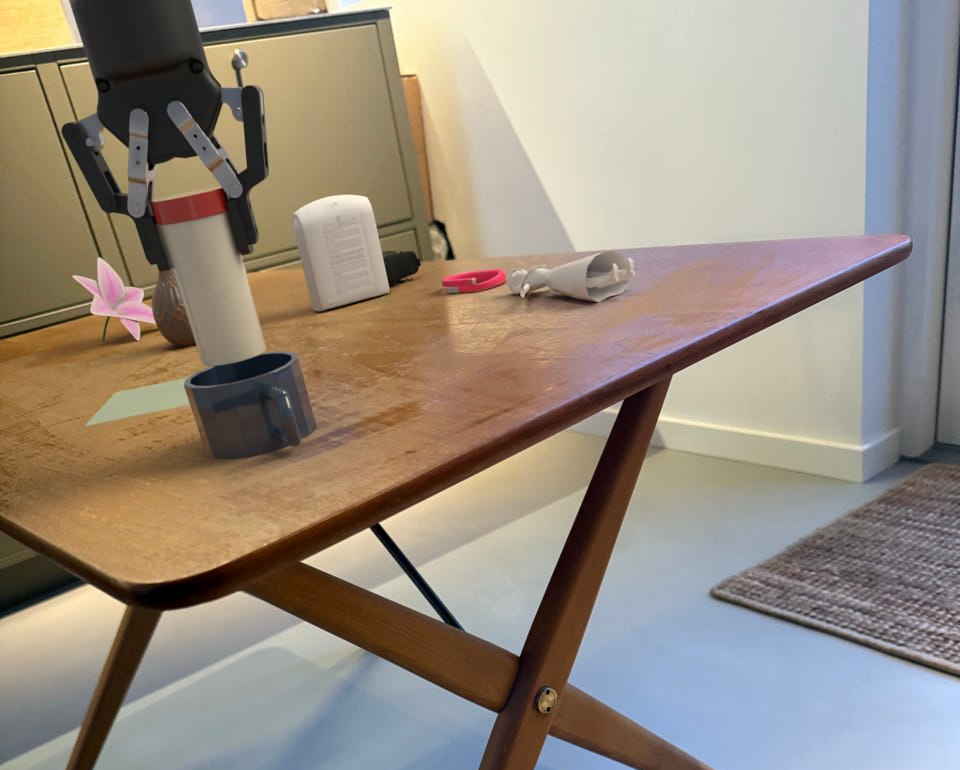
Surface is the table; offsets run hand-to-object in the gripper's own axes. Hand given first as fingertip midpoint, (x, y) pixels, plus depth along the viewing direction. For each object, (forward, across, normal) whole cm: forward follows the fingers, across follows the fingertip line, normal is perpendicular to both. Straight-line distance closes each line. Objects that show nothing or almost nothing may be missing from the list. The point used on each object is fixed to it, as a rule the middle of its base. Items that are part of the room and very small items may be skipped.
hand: (206, 260), depth 74 cm
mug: (+14, -1, +1) cm, 14 cm away
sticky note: (+14, +12, -22) cm, 29 cm away
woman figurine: (+14, -29, -32) cm, 46 cm away
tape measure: (+14, -10, -62) cm, 64 cm away
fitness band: (+14, -20, -48) cm, 54 cm away
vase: (+14, +15, -50) cm, 54 cm away
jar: (+7, 0, 0) cm, 7 cm away
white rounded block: (+14, -5, -55) cm, 57 cm away
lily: (+14, +26, -63) cm, 70 cm away
